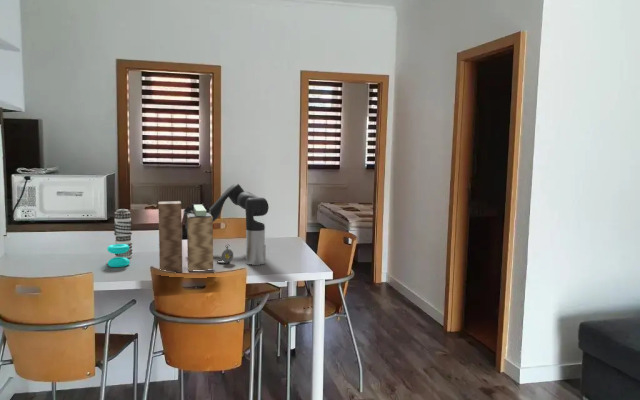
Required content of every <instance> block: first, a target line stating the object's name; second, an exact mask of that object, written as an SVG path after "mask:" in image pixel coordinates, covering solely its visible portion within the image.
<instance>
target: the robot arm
mask: <svg viewBox="0 0 640 400" xmlns="http://www.w3.org/2000/svg"><path fill="white" fill-rule="evenodd" d="M227 199H229V200H230V201H231V203H233V204H234V205H235V206H238V207H240V208H241V209H242V210H245V211H244V212H245V228H246V229H245V234H246V235H245V236H246V237H245V238H246V239H245V242H246V243H245V247H246V249H245V255H246V257H245V258H246V259H245V262H246V263H247V265H249V264H252V265H251V266H259V265H260V264H261V265H266V262H267V260H266V258H267V257H266V256H267V253H266V249H267V247H266V244H265V242H266V241H265V239H266V238H265V237H266V236H265V235H266V234H265V233H266V226H265V223H263V222H260V221H257V220H255V218H254V217H262V216H263V217H264V216H265V215H266V214H268V212H269V208H270V207H269V203H268V200H267V199H266V198H265V197H261V196H260V197H259V196H257V195H255V194H254V193H251V192H249V191H245V190H244V188H243V187H242V186H241V185H240V184H239V183H234V184H232V185H230V186H229V187H228V188H227V189H226V190H225V191H224V192H223V193H222V195H220V197H219V198H218V199H217V200H216V201H215V202H214V204H212V206H210V207H209V206H206V204H205V203H202V204H201V205H202V206H204V208H205V209H206V213H210V214H211V216H212V217H213V223H214V222H215V221H216V220H217V219H218V218H219V217H220V215H221V212H222V210H223V207H224V204H225V202H226V200H227ZM194 205H195V203H192V204H191V205H190V207H189V206H187V207H185V209H184V210H183V216H184V217H187V215H188V213H195V212H194V210H193V209H194ZM184 229H185V231H186V232H187V223H186V225H185V228H184ZM246 263H245V264H246Z"/></svg>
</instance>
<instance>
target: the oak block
mask: <svg viewBox="0 0 640 400" xmlns="http://www.w3.org/2000/svg"><path fill="white" fill-rule="evenodd" d="M213 223H214V222H213V217H212V216H211V214H210V213H206V216H196V214H195V213H188V215H186V224H187V231H186V234H187V235H186V236H187V237H186V238H187V247H186V248H187V269H188V268H189V269H188V272H189V271H193V270H208V269H213V270H214V226H213V225H214V224H213Z"/></svg>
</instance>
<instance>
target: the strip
mask: <svg viewBox="0 0 640 400" xmlns="http://www.w3.org/2000/svg"><path fill="white" fill-rule="evenodd" d="M193 210H194V212H195V214H196V216H206V209H205V208H204V206H202V204H194V209H193Z"/></svg>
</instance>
